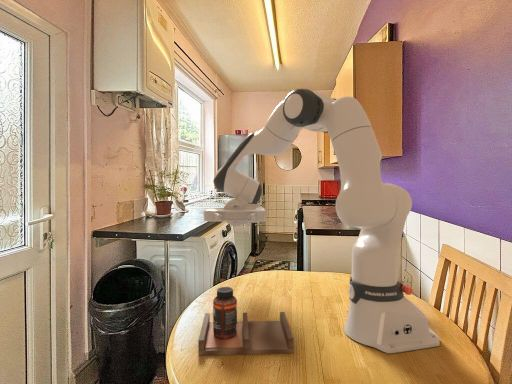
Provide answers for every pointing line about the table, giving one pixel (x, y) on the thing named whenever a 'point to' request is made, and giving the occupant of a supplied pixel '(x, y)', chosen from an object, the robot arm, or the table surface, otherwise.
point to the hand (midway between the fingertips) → (234, 218)
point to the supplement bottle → (225, 313)
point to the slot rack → (248, 338)
